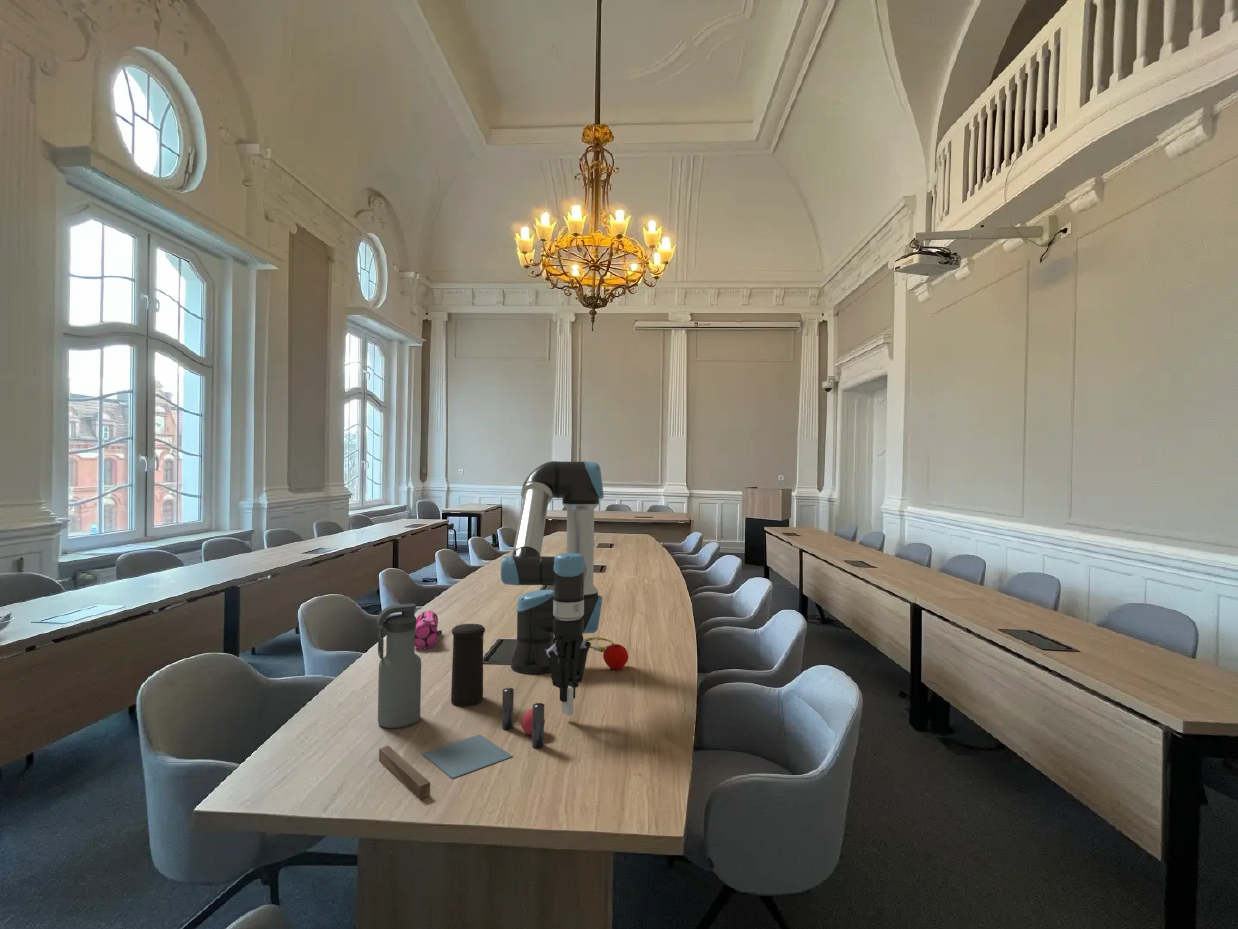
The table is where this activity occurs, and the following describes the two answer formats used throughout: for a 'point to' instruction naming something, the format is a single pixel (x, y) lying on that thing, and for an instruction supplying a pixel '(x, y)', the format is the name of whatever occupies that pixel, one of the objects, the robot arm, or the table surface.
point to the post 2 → (538, 726)
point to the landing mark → (466, 756)
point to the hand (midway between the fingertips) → (567, 713)
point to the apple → (615, 656)
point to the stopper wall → (404, 772)
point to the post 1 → (507, 708)
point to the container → (467, 664)
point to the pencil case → (426, 630)
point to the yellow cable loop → (599, 646)
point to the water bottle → (398, 668)
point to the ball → (527, 722)
